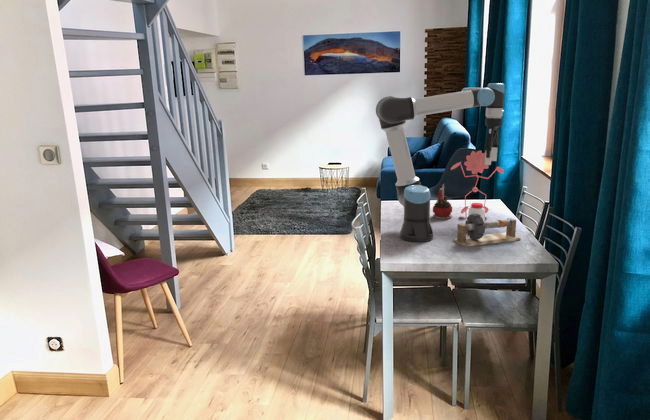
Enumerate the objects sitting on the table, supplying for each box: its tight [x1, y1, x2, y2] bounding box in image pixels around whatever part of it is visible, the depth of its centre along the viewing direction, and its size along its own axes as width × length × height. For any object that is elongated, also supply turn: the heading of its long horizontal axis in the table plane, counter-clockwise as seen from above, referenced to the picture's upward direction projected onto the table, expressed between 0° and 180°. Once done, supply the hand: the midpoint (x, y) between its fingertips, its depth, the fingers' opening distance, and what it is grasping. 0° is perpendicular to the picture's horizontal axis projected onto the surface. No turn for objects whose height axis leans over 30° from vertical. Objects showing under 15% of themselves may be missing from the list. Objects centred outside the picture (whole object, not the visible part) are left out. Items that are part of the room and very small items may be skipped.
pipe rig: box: [452, 217, 521, 248], centre depth 234 cm, size 28×10×9 cm, turn 106°
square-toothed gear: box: [465, 213, 486, 240], centre depth 232 cm, size 3×11×11 cm, turn 16°
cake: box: [432, 183, 453, 220], centre depth 274 cm, size 11×9×18 cm
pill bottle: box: [467, 202, 486, 222], centre depth 258 cm, size 8×8×11 cm
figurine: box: [450, 150, 505, 220], centre depth 270 cm, size 15×26×35 cm, turn 83°
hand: (490, 162), depth 249 cm, fingers open, 13 cm apart
